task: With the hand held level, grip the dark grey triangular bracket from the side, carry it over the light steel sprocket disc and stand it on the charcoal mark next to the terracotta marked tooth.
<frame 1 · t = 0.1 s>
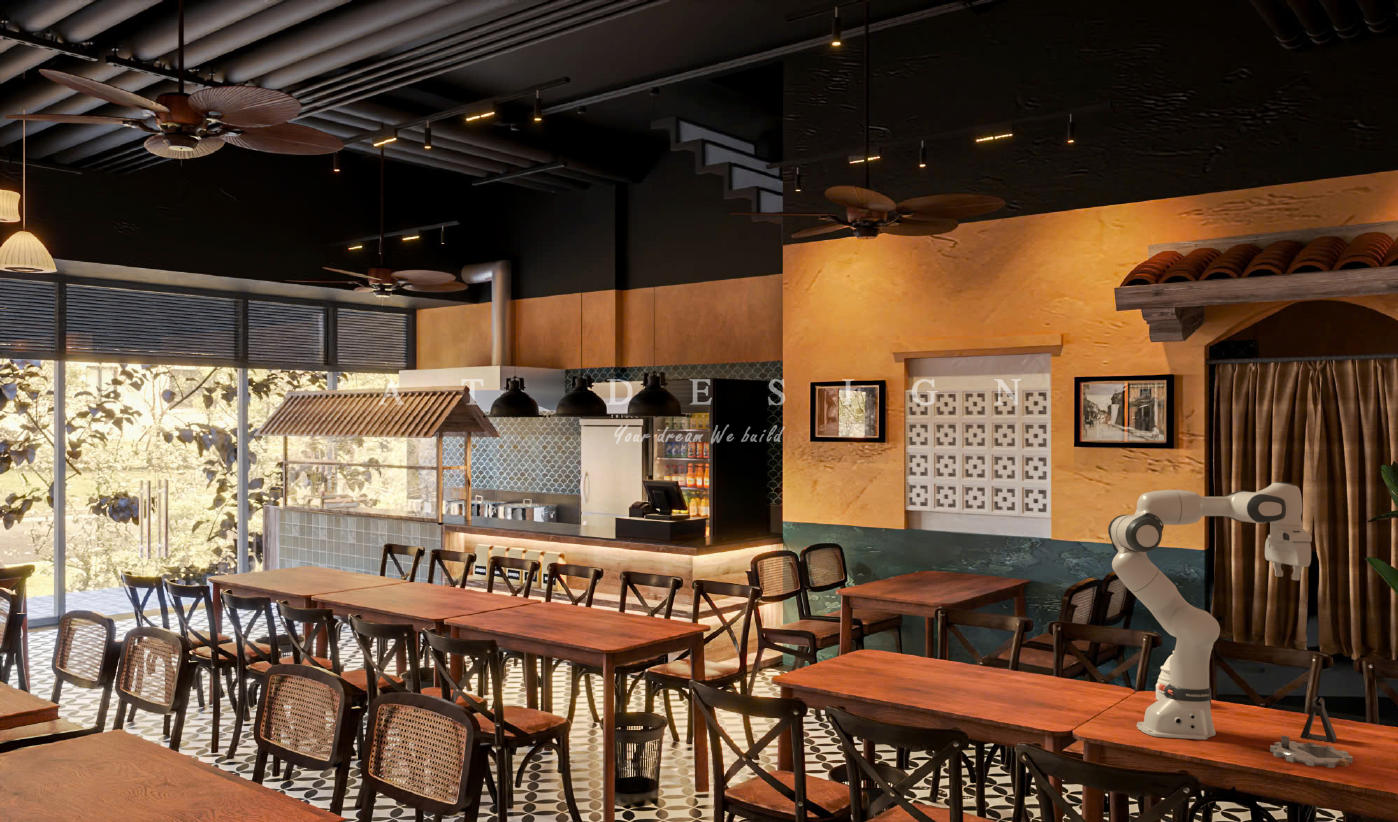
hand: (1287, 578, 318), 48 cm above the table, tool pointing down, fingers open, 8 cm apart
dark grey triangular bracket: (1318, 739, 310), on the table
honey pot: (1175, 702, 355), on the table
sprocket: (1310, 756, 292), on the table
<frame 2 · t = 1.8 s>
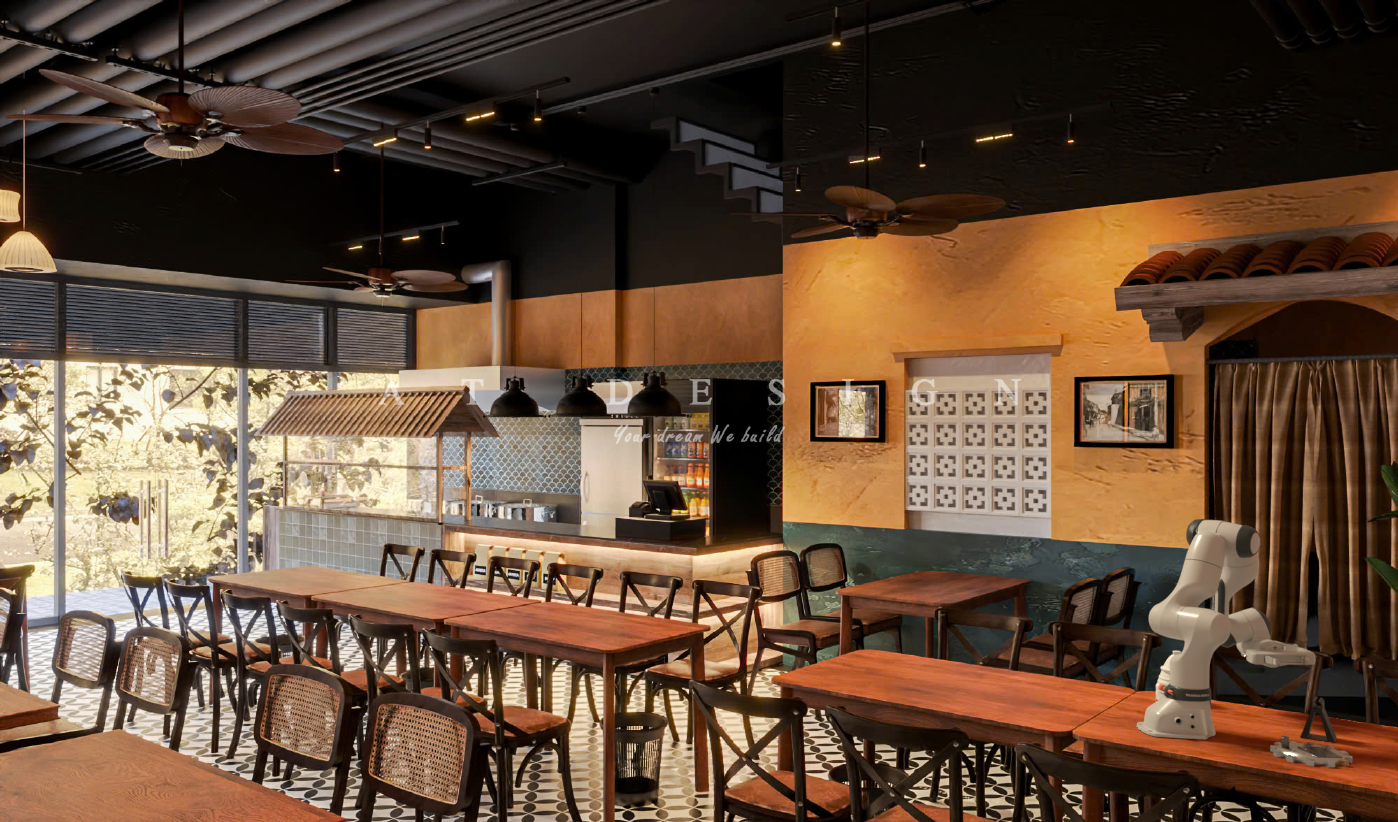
hand: (1292, 662, 325), 20 cm above the table, tool horizontal, fingers open, 8 cm apart
nothing on the table moved.
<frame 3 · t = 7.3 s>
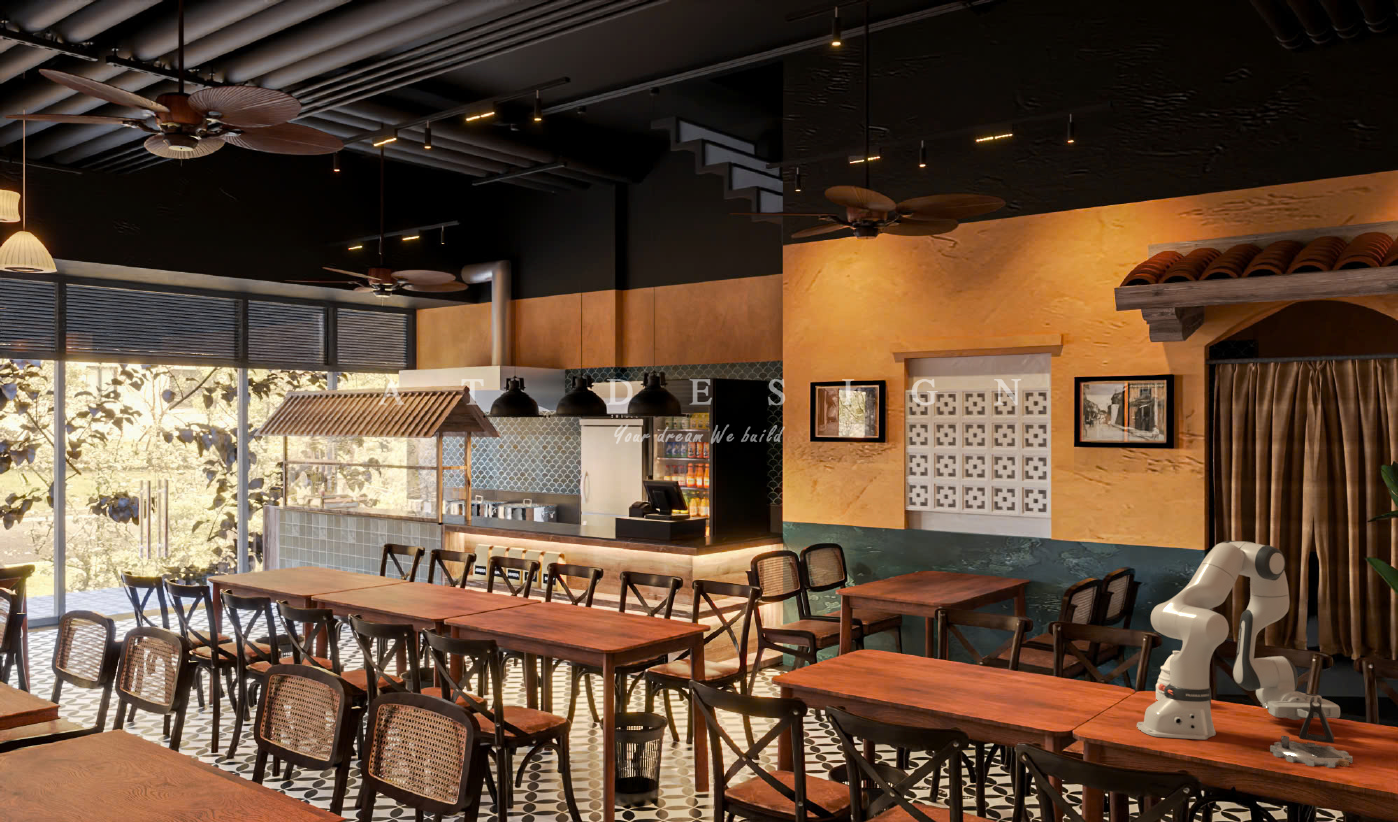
hand: (1317, 716, 311), 7 cm above the table, tool horizontal, fingers closed on dark grey triangular bracket, 2 cm apart
dark grey triangular bracket: (1316, 739, 310), on the table, touching gripper
everything else where it was.
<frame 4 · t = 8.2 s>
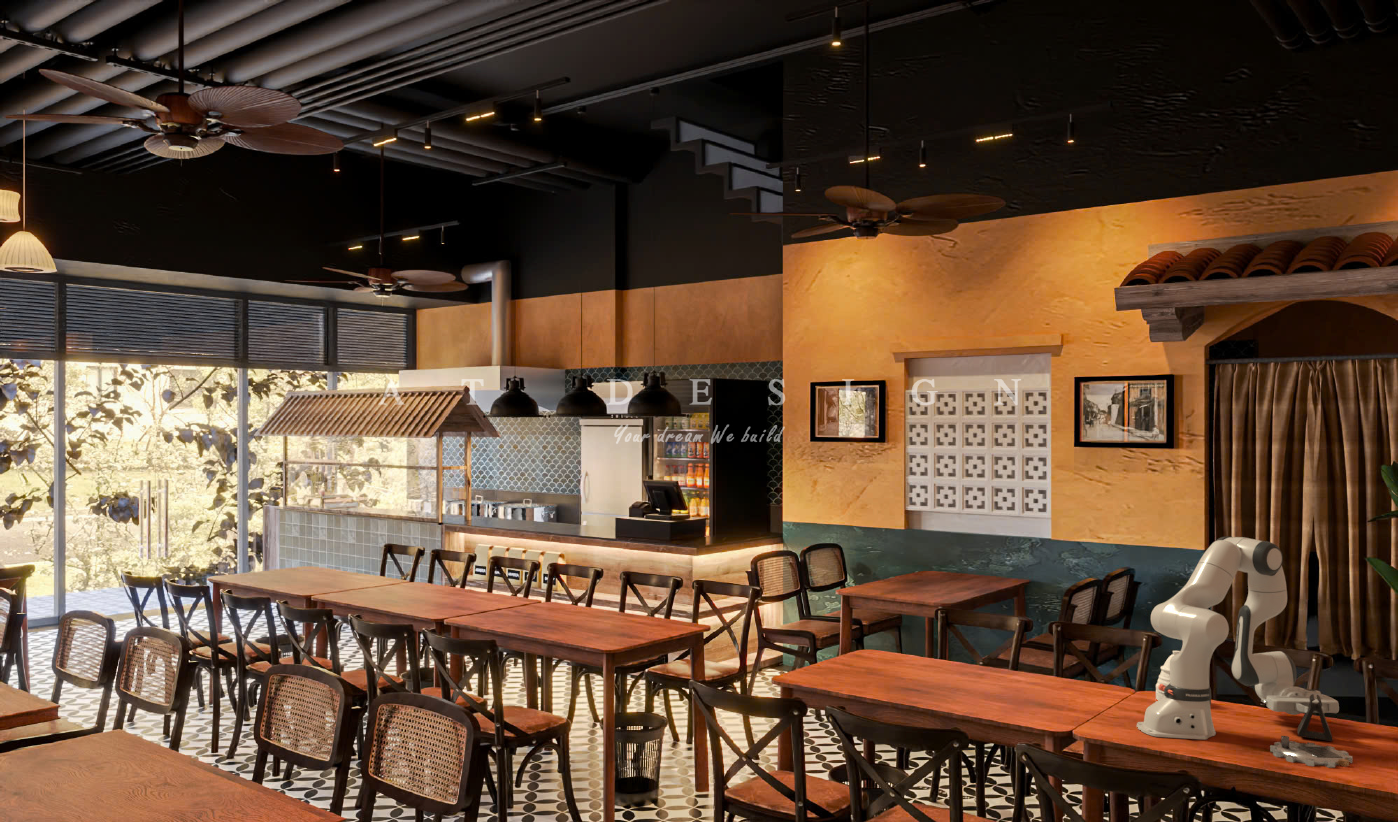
hand: (1316, 710, 311), 8 cm above the table, tool horizontal, fingers closed on dark grey triangular bracket, 2 cm apart
dark grey triangular bracket: (1314, 736, 310), point 1 cm above the table, touching gripper
everything else where it was.
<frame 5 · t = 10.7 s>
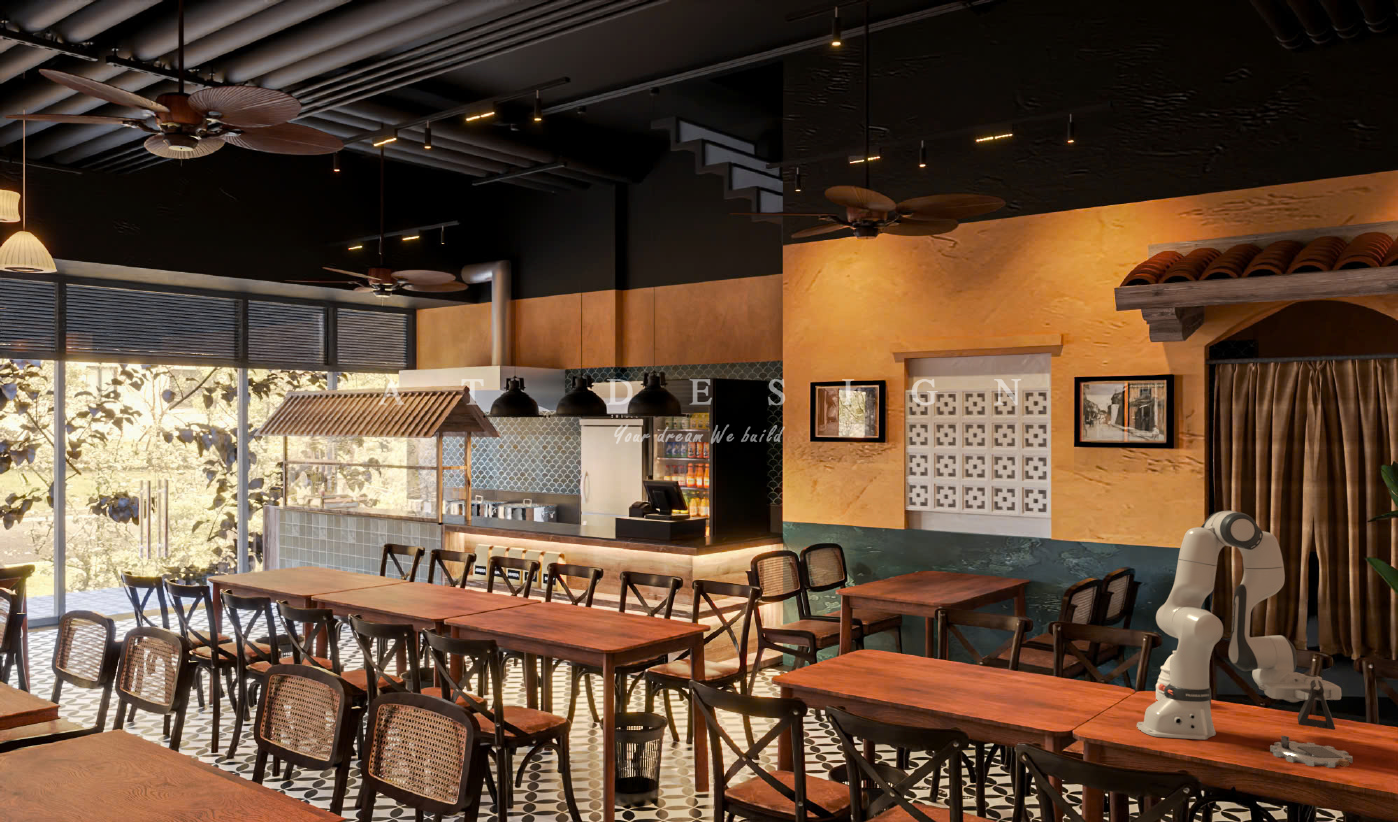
hand: (1317, 697, 292), 17 cm above the table, tool horizontal, fingers closed on dark grey triangular bracket, 2 cm apart
dark grey triangular bracket: (1315, 724, 291), point 9 cm above the table, touching gripper
everything else where it was.
when the fingers open (9 cm above the table, at t = 13.0 s): dark grey triangular bracket stays where it is, resting on sprocket.
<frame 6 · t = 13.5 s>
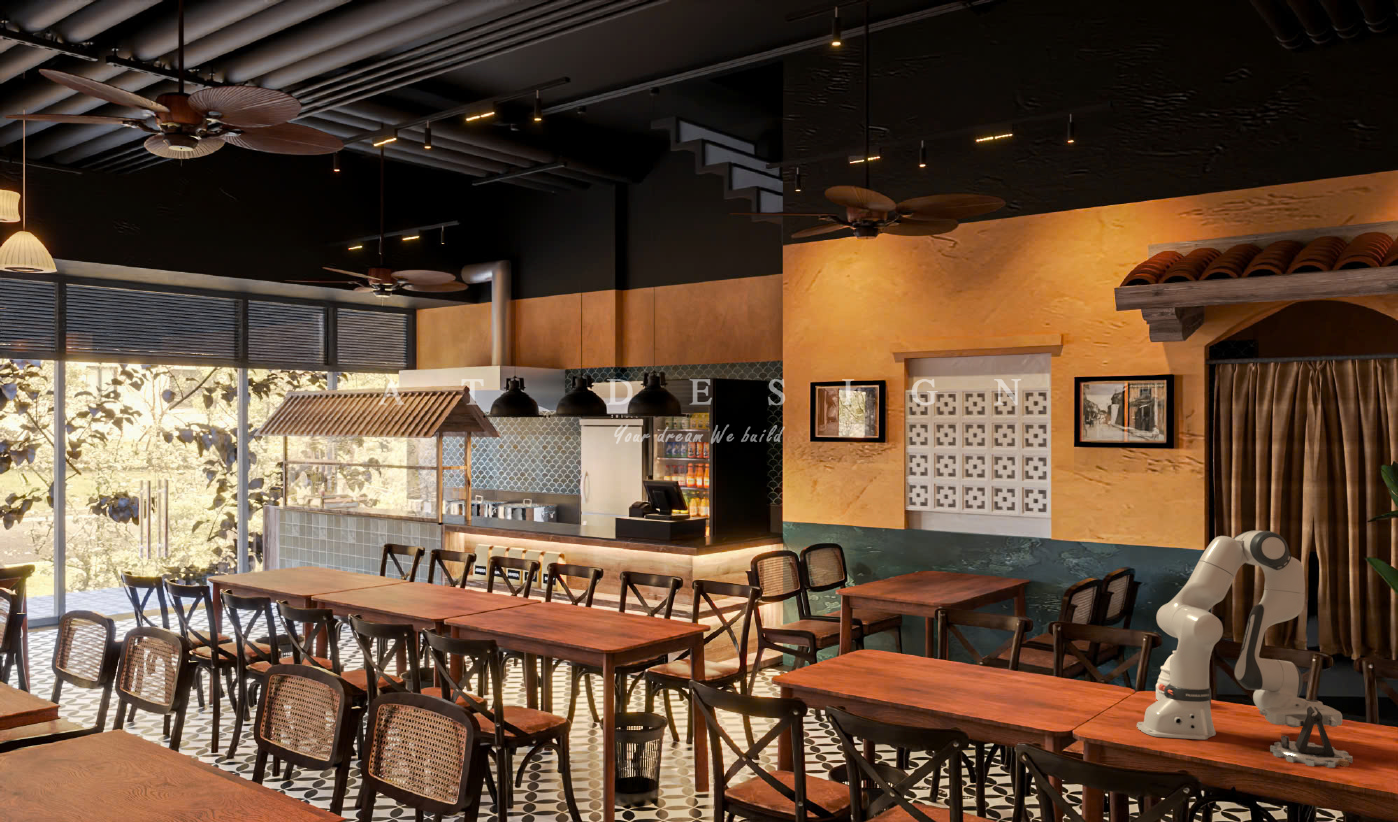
hand: (1317, 723, 292), 9 cm above the table, tool horizontal, fingers open, 8 cm apart
dark grey triangular bracket: (1314, 751, 291), point 2 cm above the table, touching sprocket
everything else where it was.
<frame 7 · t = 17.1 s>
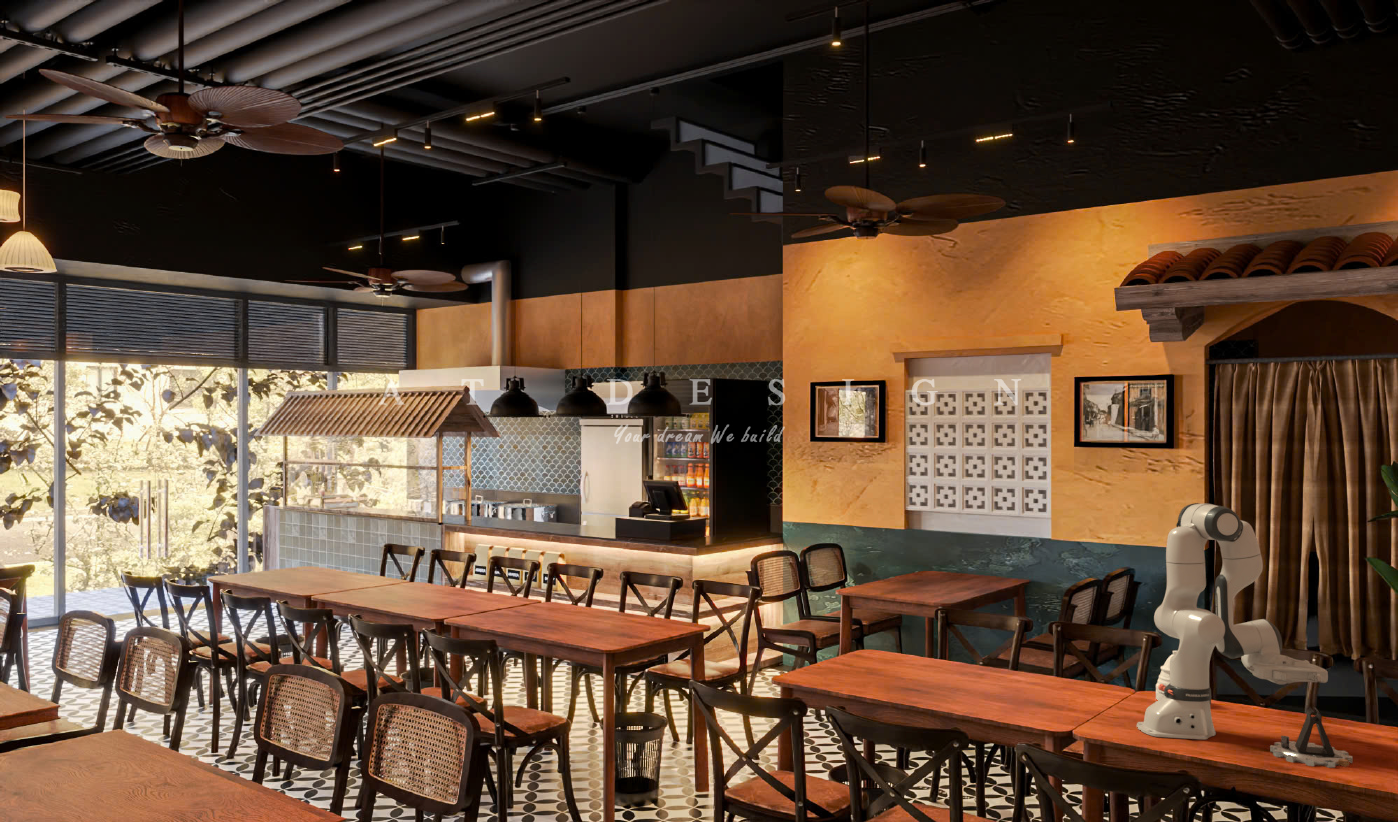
hand: (1303, 678, 298), 21 cm above the table, tool horizontal, fingers open, 8 cm apart
nothing on the table moved.
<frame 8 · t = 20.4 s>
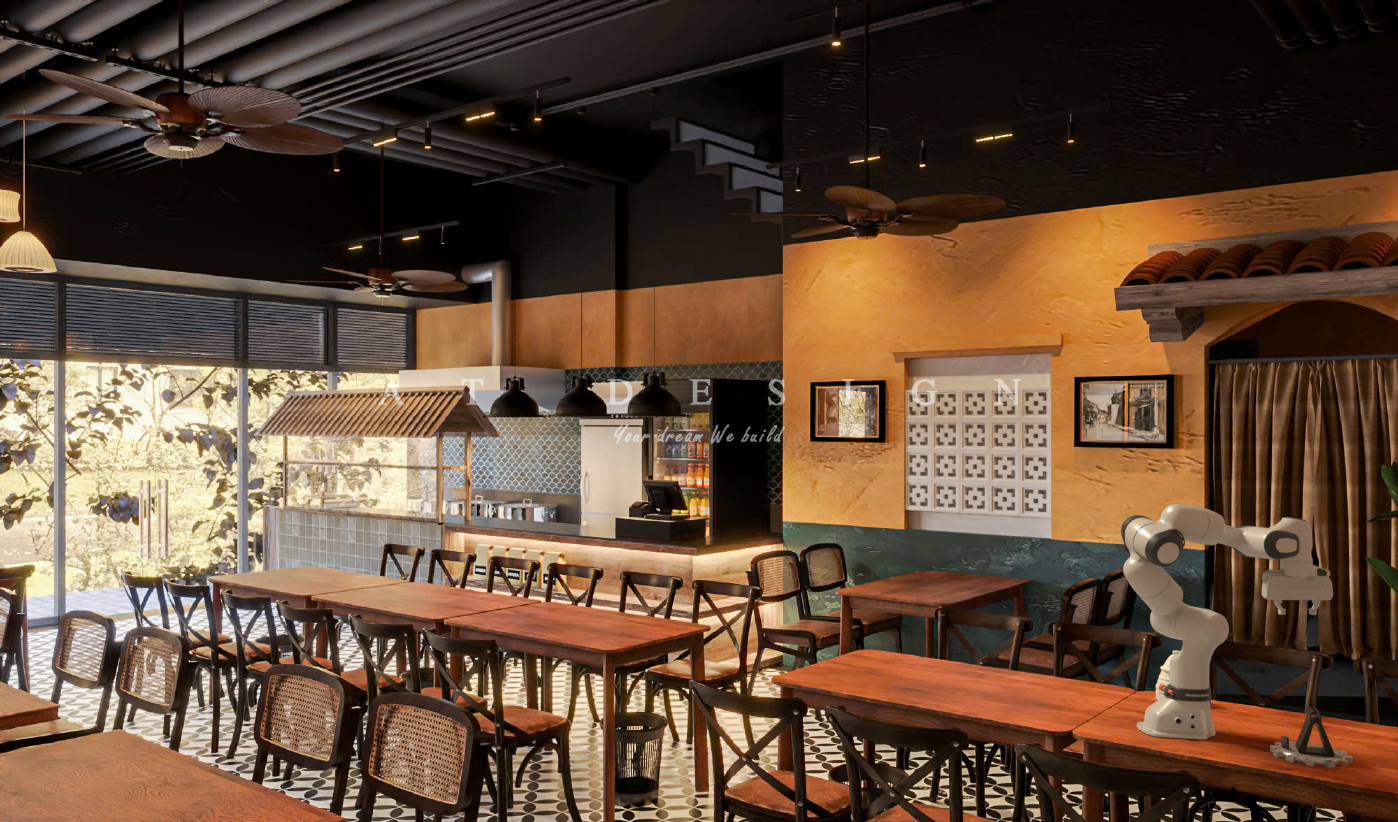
hand: (1297, 614, 315), 37 cm above the table, tool pointing down, fingers open, 8 cm apart
nothing on the table moved.
at the end: dark grey triangular bracket 1.3 cm from the target spot on the sprocket, point 1.5 cm above the sprocket's base; dark grey triangular bracket tilted 0°; the gripper is holding nothing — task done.
